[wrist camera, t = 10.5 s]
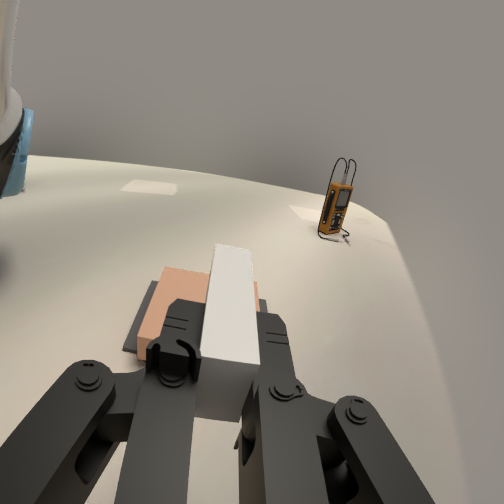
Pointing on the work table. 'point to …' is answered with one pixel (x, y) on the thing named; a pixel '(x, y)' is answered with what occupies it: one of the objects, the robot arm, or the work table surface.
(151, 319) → the tile
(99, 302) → the work table surface
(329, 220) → the multimeter
